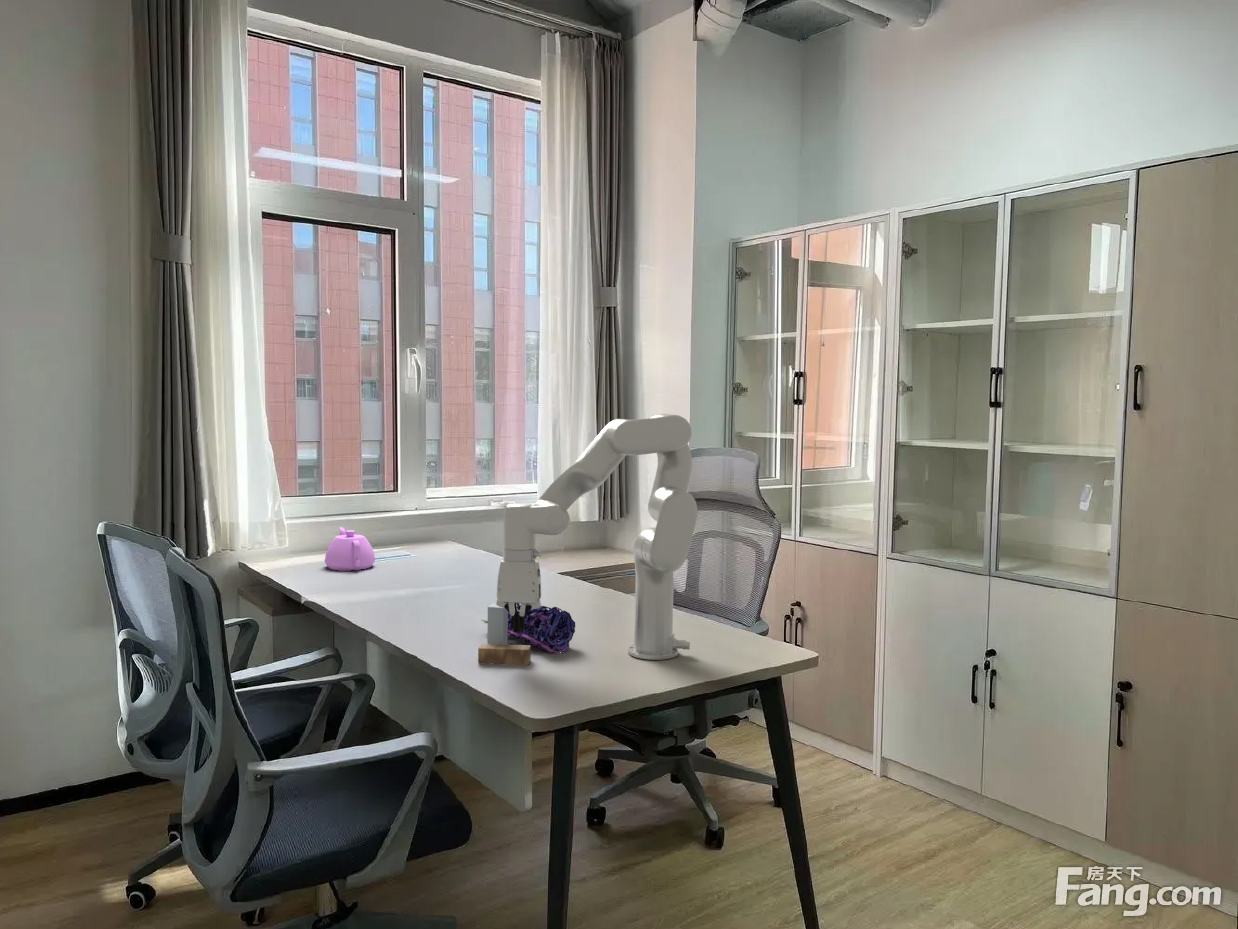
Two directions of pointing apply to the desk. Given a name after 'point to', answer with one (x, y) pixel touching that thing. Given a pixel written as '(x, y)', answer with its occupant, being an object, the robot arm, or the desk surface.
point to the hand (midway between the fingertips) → (518, 631)
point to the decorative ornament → (545, 628)
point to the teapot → (349, 552)
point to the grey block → (497, 625)
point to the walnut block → (504, 654)
